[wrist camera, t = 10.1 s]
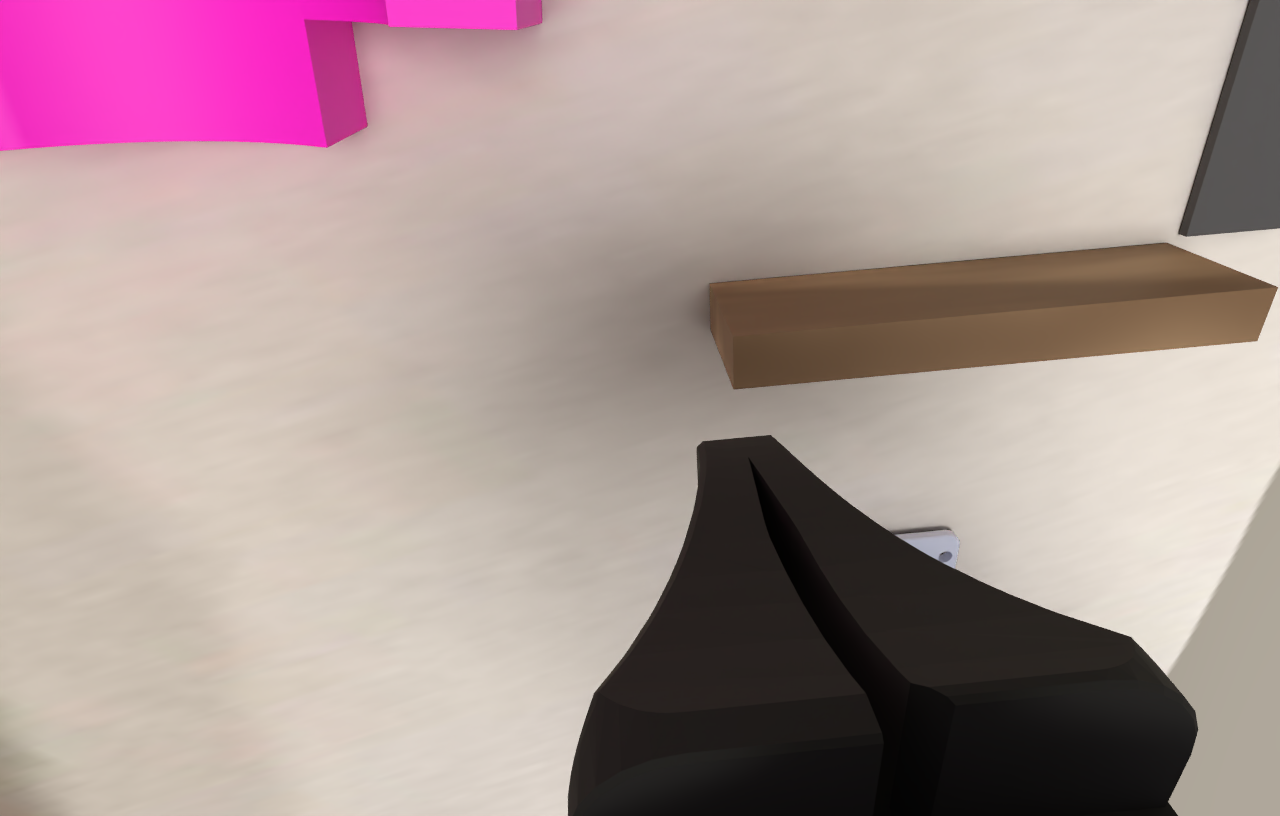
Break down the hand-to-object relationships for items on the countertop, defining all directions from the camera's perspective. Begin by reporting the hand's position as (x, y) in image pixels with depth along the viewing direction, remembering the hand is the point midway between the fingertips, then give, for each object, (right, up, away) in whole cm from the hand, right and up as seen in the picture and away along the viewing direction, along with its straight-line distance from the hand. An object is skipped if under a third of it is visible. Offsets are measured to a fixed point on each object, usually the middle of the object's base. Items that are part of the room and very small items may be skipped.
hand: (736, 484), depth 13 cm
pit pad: (+16, +11, +7) cm, 20 cm away
